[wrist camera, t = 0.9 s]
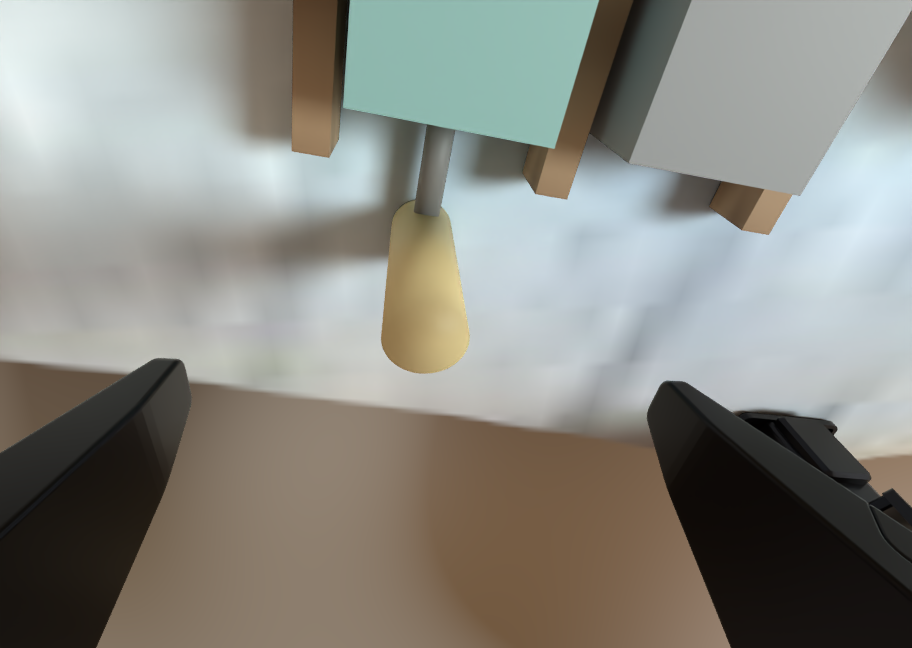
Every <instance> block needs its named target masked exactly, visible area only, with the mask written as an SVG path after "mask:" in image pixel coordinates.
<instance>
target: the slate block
mask: <svg viewBox="0 0 912 648" xmlns="http://www.w3.org/2000/svg"><path fill="white" fill-rule="evenodd" d="M911 11H912V0H633V3H632V6H631V9H630V12H629V15H628V18H627V21H626V24H625V27H624V30H623V33H622V36H621V39H620V42H619V45H618V48H617V51H616V54H615V57H614V60H613V63H612V66H611V69H610V72H609V75H608V78H607V81H606V84H605V87H604V90H603V93H602V96H601V99H600V102H599V105H598V108H597V111H596V114H595V117H594V120H593V123H592V126H591V129H590V132H589V133H590V134H592V135H593V136H594V137H596V138H597V139H598V140H599V141H601V142H602V143H603V144H605V145H606V146H607V147H608V148H610V149H611V150H612V151H614V152H615V153H616V154H617V155H619V156H620V157H621V158H623V159H624V160H625V161H626V162H628V163H630V164H635V165H640V166H646V167H651V168H656V169H661V170H667V171H672V172H677V173H682V174H688V175H693V176H698V177H704V178H709V179H714V180H719V181H725V182H730V183H735V184H740V185H746V186H751V187H756V188H761V189H767V190H772V191H777V192H782V193H788V194H793V195H798V196H800V195H801V194H802V192H803V190H804V189H805V187H806V185H807V184H808V182H809V180H810V179H811V177H812V175H813V174H814V172H815V170H816V169H817V167H818V165H819V164H820V162H821V160H822V159H823V157H824V155H825V154H826V152H827V150H828V149H829V147H830V145H831V144H832V142H833V140H834V139H835V137H836V135H837V134H838V132H839V130H840V129H841V127H842V125H843V124H844V122H845V120H846V119H847V117H848V115H849V114H850V112H851V110H852V109H853V107H854V105H855V104H856V102H857V100H858V99H859V97H860V96H861V94H862V92H863V91H864V89H865V87H866V86H867V84H868V82H869V81H870V79H871V77H872V76H873V74H874V72H875V71H876V69H877V67H878V66H879V64H880V62H881V61H882V59H883V57H884V56H885V54H886V52H887V51H888V49H889V47H890V46H891V44H892V42H893V41H894V39H895V37H896V36H897V34H898V32H899V31H900V29H901V27H902V26H903V24H904V22H905V21H906V19H907V17H908V16H909V14H910V12H911Z"/></svg>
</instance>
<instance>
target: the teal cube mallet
mask: <svg viewBox="0 0 912 648" xmlns="http://www.w3.org/2000/svg"><path fill="white" fill-rule="evenodd" d="M598 2H599V0H350V8H349V23H348V39H347V54H346V70H345V85H344V101H343V108H346V109H351V110H356V111H362V112H367V113H372V114H377V115H382V116H387V117H393V118H398V119H403V120H408V121H413V122H418V123H424V124H427V129H426V135H425V142H424V148H423V154H422V161H421V167H420V174H419V180H418V186H417V193H416V199H415V200H413V201H410V202H407V203H405V204H404V205H402V206H401V207H400V208H399V209H398V210H397V212H396V213H395V215H394V217H393V220H392V225H391V236H390V247H389V258H388V269H387V280H386V291H385V302H384V312H383V323H382V334H381V342H382V347H383V350H384V352H385V354H386V355H387V357H388V358H389V359H390V360H391V361H392V362H393V363H394V364H396V365H397V366H399V367H400V368H402V369H404V370H407V371H410V372H414V373H424V374H425V373H435V372H439V371H442V370H445V369H447V368H449V367H451V366H452V365H454V364H455V363H457V362H458V361H459V360H460V359H461V358H462V357H463V355H464V354H465V352H466V350H467V348H468V345H469V337H470V335H469V328H468V323H467V317H466V311H465V305H464V299H463V293H462V287H461V281H460V275H459V269H458V264H457V258H456V252H455V246H454V240H453V234H452V228H451V222H450V219H449V216H448V214H447V213H446V211H445V210H444V209H443V208H442V207H441V203H442V198H443V192H444V187H445V182H446V176H447V171H448V166H449V160H450V155H451V150H452V144H453V139H454V134H455V130H460V131H465V132H470V133H475V134H480V135H486V136H491V137H496V138H501V139H506V140H511V141H517V142H522V143H527V144H532V145H537V146H542V147H548V148H553V149H555V145H556V142H557V139H558V135H559V132H560V129H561V125H562V122H563V119H564V115H565V112H566V109H567V105H568V102H569V99H570V95H571V92H572V89H573V85H574V82H575V79H576V75H577V72H578V69H579V65H580V62H581V59H582V55H583V52H584V49H585V45H586V42H587V39H588V35H589V32H590V29H591V25H592V22H593V19H594V15H595V12H596V9H597V5H598Z"/></svg>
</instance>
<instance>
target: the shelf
mask: <svg viewBox="0 0 912 648" xmlns="http://www.w3.org/2000/svg"><path fill="white" fill-rule="evenodd" d="M632 3H633V0H599V2H598V5H597V9H596V12H595V15H594V19H593V22H592V25H591V29H590V32H589V35H588V39H587V42H586V45H585V49H584V52H583V55H582V59H581V62H580V65H579V69H578V72H577V75H576V79H575V82H574V85H573V89H572V92H571V95H570V99H569V102H568V105H567V109H566V112H565V115H564V119H563V122H562V125H561V129H560V132H559V135H558V139H557V142H556V145H555V149H553V148H548V147H542V146H537V145H532V144H530V146H529V150H528V153H527V157H526V161H525V164H524V168H523V172H522V173H523V175H524V176H525V178H526V180H527V181H528V183H529V184H530V186H531V188H532V189H533V191H534V193H535V194H539V195H544V196H550V197H556V198H561V199H567V198H568V195H569V192H570V189H571V186H572V183H573V180H574V177H575V174H576V171H577V168H578V165H579V162H580V159H581V156H582V153H583V150H584V147H585V144H586V141H587V138H588V135H589V132H590V129H591V126H592V123H593V120H594V117H595V114H596V111H597V108H598V105H599V102H600V99H601V96H602V93H603V90H604V87H605V84H606V81H607V78H608V75H609V72H610V69H611V66H612V63H613V60H614V57H615V54H616V51H617V48H618V45H619V42H620V39H621V36H622V33H623V30H624V27H625V24H626V21H627V18H628V15H629V12H630V9H631V6H632ZM346 13H347V0H293V74H292V151H294V152H299V153H305V154H311V155H316V156H322V157H328V158H329V157H330V155H331V153H332V151H333V149H334V147H335V145H336V144H337V142H338V140H339V127H340V110H341V94H342V78H343V62H344V46H345V30H346ZM792 195H793V194H788V193H782V192H777V191H772V190H767V189H761V188H756V187H751V186H746V185H740V184H735V183H730V182H725V181H722V182H721V184H720V186H719V188H718V190H717V192H716V194H715V196H714V198H713V200H712V202H711V204H710V206H709V207H710V208H711V209H713V210H714V211H716V212H717V213H718V214H720V215H721V216H723V217H724V218H725V219H727V220H728V221H730V222H731V223H732V224H734V225H735V226H737V227H738V228H739V229H741V230H744V231H749V232H755V233H761V234H767V235H769V233H770V232H771V230H772V228H773V227H774V225H775V223H776V222H777V220H778V218H779V217H780V215H781V213H782V211H783V210H784V208H785V206H786V205H787V203H788V201H789V200H790V198H791V196H792Z"/></svg>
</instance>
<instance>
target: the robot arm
mask: <svg viewBox="0 0 912 648" xmlns="http://www.w3.org/2000/svg"><path fill="white" fill-rule="evenodd" d="M191 398H192V397H191V391H190V386H189V382H188V378H187V373H186V369H185V366H184V363H183V362H182V361H181V360H179V359H167V358H156V359H153V360H151V361H149V362H148V363H146V364H145V365H143V366H141V367H140V368H138V369H136V370H135V371H133V372H131V373H130V374H128V375H127V376H125V377H123V378H122V379H120V380H118V381H117V382H115V383H113V384H112V385H110V386H109V387H107V388H105V389H104V390H102V391H100V392H99V393H97V394H96V395H94V396H92V397H91V398H89V399H88V400H86V401H84V402H82V403H81V404H79V405H78V406H76V407H74V408H73V409H71V410H69V411H68V412H66V413H65V414H63V415H61V416H60V417H58V418H56V419H55V420H53V421H51V422H50V423H48V424H46V425H45V426H43V427H42V428H40V429H38V430H37V431H35V432H33V433H32V434H30V435H29V436H27V437H25V438H24V439H22V440H21V441H19V442H17V443H15V444H14V445H12V446H11V447H9V448H7V449H6V450H4V451H2V452H1V453H0V648H96V647H97V645H98V642H99V640H100V638H101V636H102V633H103V631H104V629H105V627H106V624H107V622H108V620H109V617H110V615H111V613H112V610H113V608H114V606H115V604H116V601H117V599H118V597H119V594H120V592H121V590H122V588H123V585H124V583H125V581H126V578H127V576H128V574H129V572H130V569H131V567H132V565H133V562H134V560H135V558H136V555H137V553H138V551H139V549H140V546H141V544H142V541H143V540H144V537H145V535H146V533H147V530H148V528H149V526H150V524H151V521H152V519H153V516H154V514H155V512H156V510H157V507H158V505H159V503H160V501H161V498H162V496H163V493H164V491H165V488H166V486H167V482H168V480H169V477H170V474H171V470H172V466H173V464H174V460H175V457H176V454H177V450H178V447H179V443H180V441H181V437H182V434H183V431H184V427H185V424H186V420H187V417H188V414H189V411H190V407H191ZM647 421H648V425H649V428H650V432H651V435H652V439H653V442H654V446H655V449H656V453H657V456H658V460H659V463H660V467H661V470H662V473H663V477H664V480H665V483H666V486H667V489H668V492H669V495H670V497H671V500H672V503H673V505H674V508H675V510H676V512H677V515H678V518H679V520H680V522H681V525H682V528H683V530H684V532H685V535H686V537H687V540H688V542H689V545H690V547H691V550H692V552H693V555H694V557H695V560H696V562H697V565H698V567H699V570H700V572H701V575H702V577H703V580H704V582H705V584H706V587H707V590H708V592H709V594H710V597H711V599H712V602H713V604H714V607H715V609H716V612H717V614H718V617H719V619H720V622H721V624H722V627H723V629H724V631H725V634H726V637H727V639H728V642H729V644H730V647H731V648H912V507H911V506H910V505H909V504H908V503H907V502H906V501H905V500H904V499H903V498H902V497H901V496H900V495H899V494H898V493H897V492H896V491H895V490H894V489H893V488H891V489H890V490H888V491H886V492H884V493H882V494H883V496H880V495H879V494H878V493H877V492H876V491H875V490H874V489H873V488H872V486H871V485H870V484H869V483H868V482H869V481H870V480H871V476H870V473H869V472H868V471H867V470H866V469H865V468H864V467H863V466H862V465H861V464H860V463H859V462H858V461H857V460H856V459H855V458H854V456H853V455H852V454H851V453H850V452H849V451H848V450H847V449H846V448H845V447H844V446H843V445H842V444H841V443H840V442H839V441H838V440H837V439H836V438H835V437H834V436H833V435H834V434H835V433H836V431H837V427H836V426H835V425H834V424H833V423H832V422H831V421H826V420H816V419H806V418H797V417H787V416H777V415H767V414H758V413H743V414H741V415H740V416H736V415H735V414H733V413H732V412H730V411H729V410H727V409H726V408H724V407H722V406H721V405H719V404H718V403H716V402H715V401H713V400H712V399H710V398H709V397H707V396H706V395H704V394H703V393H701V392H700V391H698V390H697V389H695V388H694V387H692V386H691V385H689V384H688V383H686V382H683V381H664V382H663V383H662V384H661V385H660V387H659V389H658V391H657V393H656V395H655V396H654V398H653V400H652V402H651V404H650V406H649V409H648V412H647Z"/></svg>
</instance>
